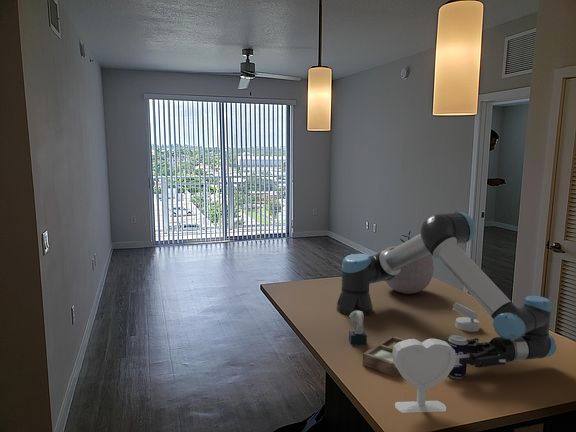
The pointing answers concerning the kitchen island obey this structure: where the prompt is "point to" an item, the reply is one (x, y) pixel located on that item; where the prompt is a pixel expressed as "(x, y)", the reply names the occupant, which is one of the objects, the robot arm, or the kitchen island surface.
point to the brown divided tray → (382, 356)
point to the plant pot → (413, 275)
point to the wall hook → (466, 319)
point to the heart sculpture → (423, 370)
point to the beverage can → (461, 348)
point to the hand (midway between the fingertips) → (442, 356)
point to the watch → (357, 328)
